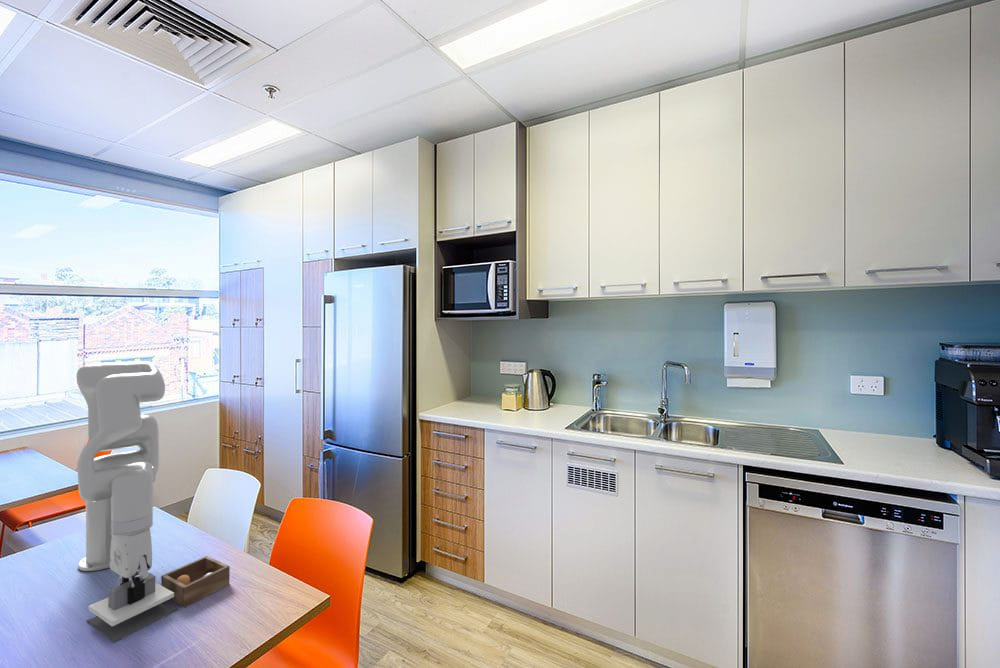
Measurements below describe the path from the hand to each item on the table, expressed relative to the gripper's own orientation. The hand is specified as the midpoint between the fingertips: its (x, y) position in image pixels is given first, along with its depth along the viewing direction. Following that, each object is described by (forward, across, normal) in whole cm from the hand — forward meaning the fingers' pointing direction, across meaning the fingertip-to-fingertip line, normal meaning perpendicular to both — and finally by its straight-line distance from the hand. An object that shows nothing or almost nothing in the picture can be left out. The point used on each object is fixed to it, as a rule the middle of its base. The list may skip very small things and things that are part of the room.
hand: (132, 598), depth 101 cm
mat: (+4, 0, 0) cm, 5 cm away
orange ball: (+2, -1, +11) cm, 11 cm away
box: (+4, +2, +13) cm, 14 cm away
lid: (+1, 0, 0) cm, 1 cm away
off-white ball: (+2, +4, +15) cm, 16 cm away
